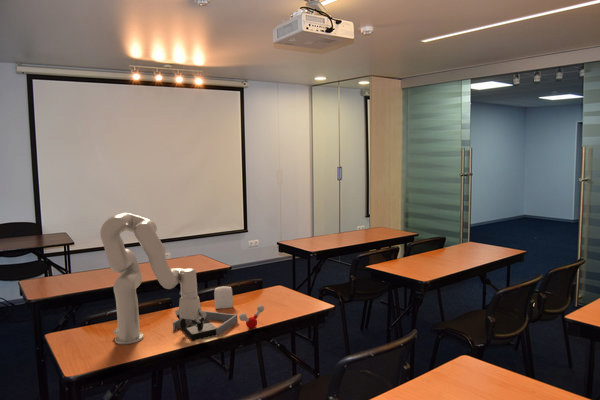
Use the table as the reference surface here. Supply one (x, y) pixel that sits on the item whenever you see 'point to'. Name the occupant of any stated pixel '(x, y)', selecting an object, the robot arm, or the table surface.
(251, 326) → the molecular model
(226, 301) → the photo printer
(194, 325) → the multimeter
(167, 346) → the table surface
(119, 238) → the robot arm
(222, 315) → the grey low wall frame
